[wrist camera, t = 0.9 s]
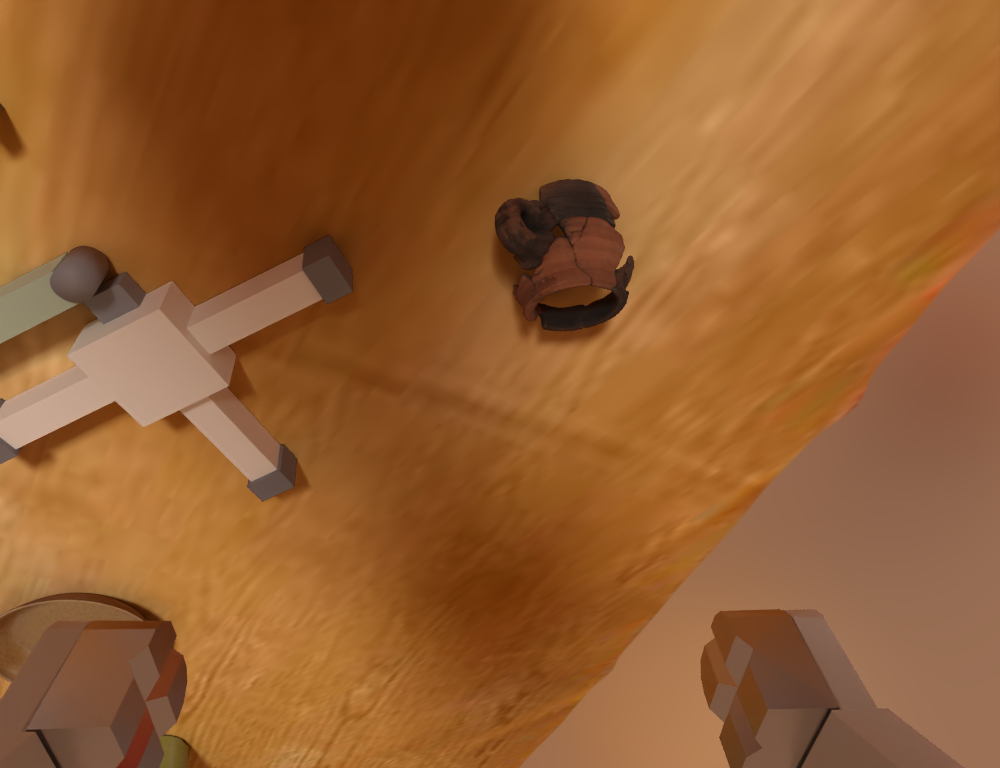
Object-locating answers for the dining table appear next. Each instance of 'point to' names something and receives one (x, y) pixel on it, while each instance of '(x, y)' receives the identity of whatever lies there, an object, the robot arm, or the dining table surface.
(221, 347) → the stool base
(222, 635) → the dining table surface
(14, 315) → the hinged leg
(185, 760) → the plant pot
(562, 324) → the pottery mug
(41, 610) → the plant saucer
